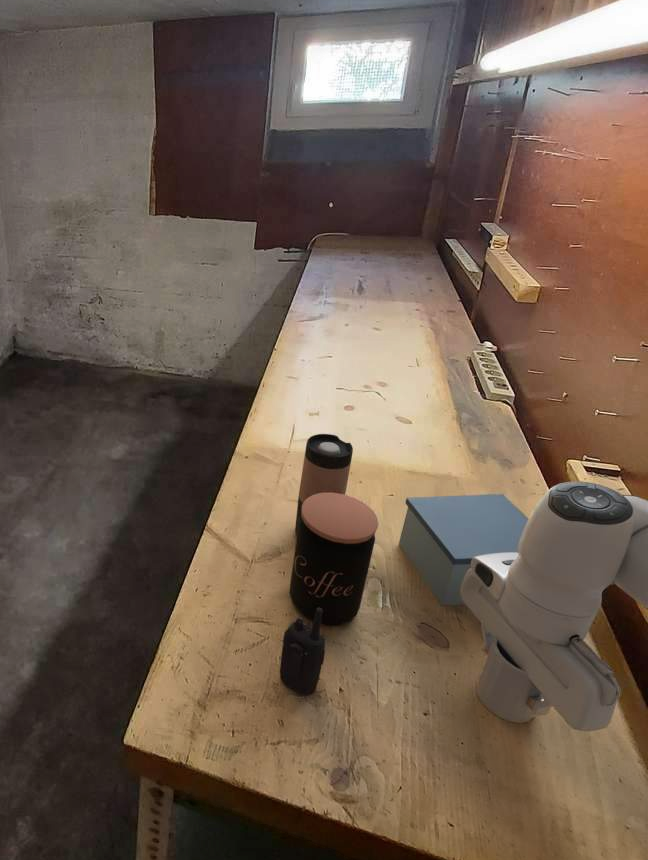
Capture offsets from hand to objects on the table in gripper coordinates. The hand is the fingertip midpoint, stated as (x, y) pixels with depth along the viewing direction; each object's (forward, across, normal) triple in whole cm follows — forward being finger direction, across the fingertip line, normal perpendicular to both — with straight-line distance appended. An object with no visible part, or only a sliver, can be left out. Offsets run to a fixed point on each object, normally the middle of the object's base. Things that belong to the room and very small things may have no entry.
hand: (511, 680), depth 73 cm
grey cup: (+4, 0, 0) cm, 4 cm away
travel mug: (+4, +34, +11) cm, 36 cm away
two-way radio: (+4, +6, +27) cm, 28 cm away
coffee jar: (+4, +19, +16) cm, 25 cm away
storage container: (+4, +22, -10) cm, 24 cm away
